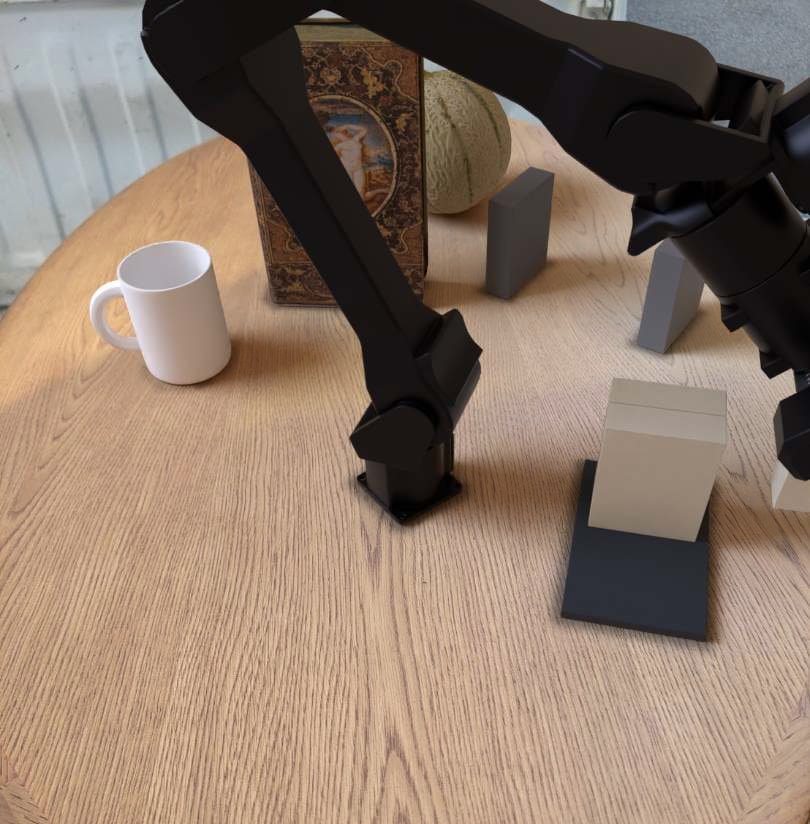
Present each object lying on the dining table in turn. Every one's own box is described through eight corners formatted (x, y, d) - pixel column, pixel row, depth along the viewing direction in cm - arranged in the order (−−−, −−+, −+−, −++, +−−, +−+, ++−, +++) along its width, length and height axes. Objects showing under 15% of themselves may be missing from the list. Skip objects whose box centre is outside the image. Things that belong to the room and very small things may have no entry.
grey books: (663, 354, 82) (685, 258, 75) (484, 291, 90) (488, 199, 83) (697, 312, 86) (721, 218, 79) (523, 256, 94) (530, 165, 87)
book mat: (560, 617, 62) (576, 514, 54) (583, 465, 73) (600, 360, 65) (704, 641, 61) (743, 539, 53) (707, 483, 71) (741, 376, 63)
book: (266, 305, 90) (218, 41, 71) (276, 276, 94) (233, 17, 75) (424, 309, 88) (418, 41, 70) (428, 279, 92) (424, 17, 73)
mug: (101, 394, 81) (65, 298, 74) (114, 341, 87) (82, 246, 79) (230, 384, 82) (207, 287, 74) (235, 332, 87) (214, 237, 79)
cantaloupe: (516, 233, 98) (525, 93, 86) (385, 242, 97) (377, 103, 86) (498, 171, 107) (503, 39, 96) (379, 180, 107) (371, 47, 96)
